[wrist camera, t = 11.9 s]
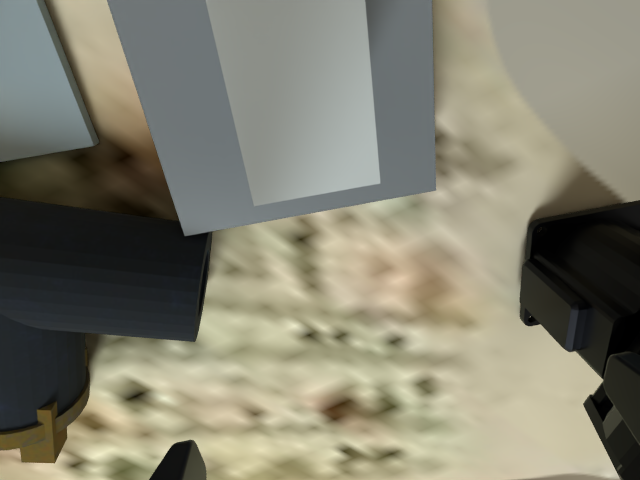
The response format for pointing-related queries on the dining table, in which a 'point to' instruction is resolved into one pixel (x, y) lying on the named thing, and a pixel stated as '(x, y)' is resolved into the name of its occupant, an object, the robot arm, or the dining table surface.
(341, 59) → the grey plug
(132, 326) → the pipe connector
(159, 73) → the header
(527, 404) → the dining table surface
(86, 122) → the slate mat
